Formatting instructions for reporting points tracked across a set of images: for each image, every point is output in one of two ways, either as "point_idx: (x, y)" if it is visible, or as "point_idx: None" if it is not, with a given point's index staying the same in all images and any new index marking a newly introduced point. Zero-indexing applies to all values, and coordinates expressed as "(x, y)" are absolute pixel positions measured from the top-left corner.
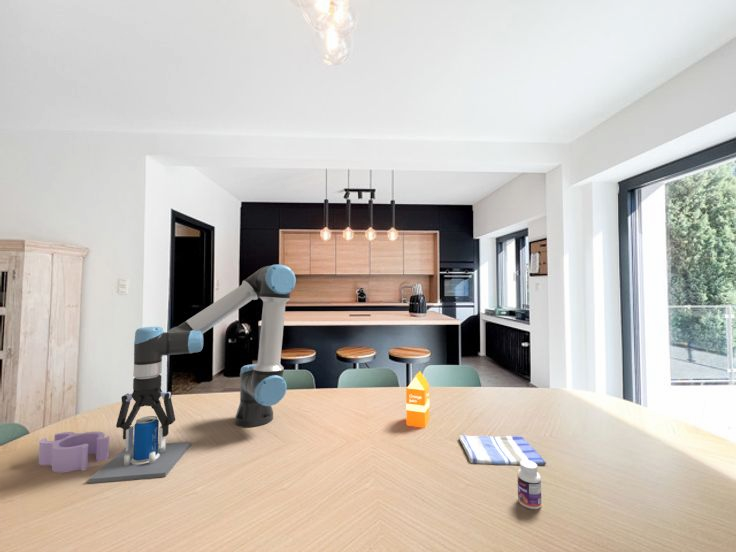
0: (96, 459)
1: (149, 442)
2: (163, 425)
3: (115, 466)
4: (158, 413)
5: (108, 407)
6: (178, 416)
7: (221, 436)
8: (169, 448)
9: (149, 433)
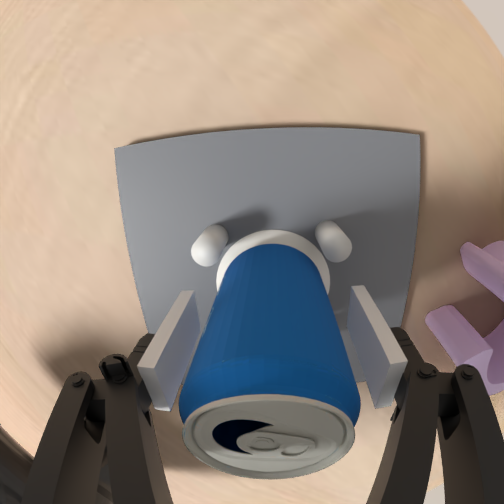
0: (454, 307)
1: (224, 295)
2: (120, 374)
3: (371, 225)
4: (124, 468)
5: None
6: (307, 488)
7: None
8: None
9: (214, 330)
